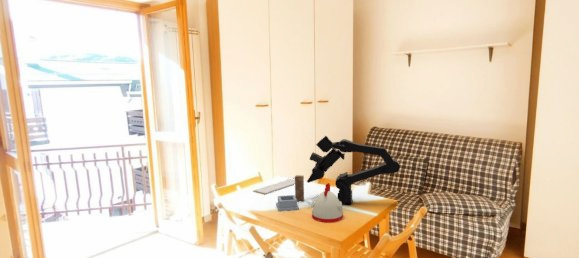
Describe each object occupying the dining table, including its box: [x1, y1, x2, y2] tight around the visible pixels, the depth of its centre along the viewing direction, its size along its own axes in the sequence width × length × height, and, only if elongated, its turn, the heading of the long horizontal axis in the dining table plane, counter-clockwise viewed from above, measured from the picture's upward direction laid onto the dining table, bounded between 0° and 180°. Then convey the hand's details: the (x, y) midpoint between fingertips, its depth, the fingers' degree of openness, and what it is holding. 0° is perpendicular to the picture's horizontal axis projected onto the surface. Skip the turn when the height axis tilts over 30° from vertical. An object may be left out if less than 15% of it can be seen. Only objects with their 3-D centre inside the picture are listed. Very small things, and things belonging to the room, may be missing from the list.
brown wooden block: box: [294, 174, 305, 203], centre depth 168 cm, size 4×3×13 cm
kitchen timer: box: [311, 182, 344, 224], centre depth 145 cm, size 14×14×15 cm
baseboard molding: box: [252, 177, 295, 195], centre depth 195 cm, size 31×3×12 cm
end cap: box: [275, 194, 300, 212], centre depth 159 cm, size 10×10×4 cm
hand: (309, 179), depth 166 cm, fingers open, 9 cm apart
